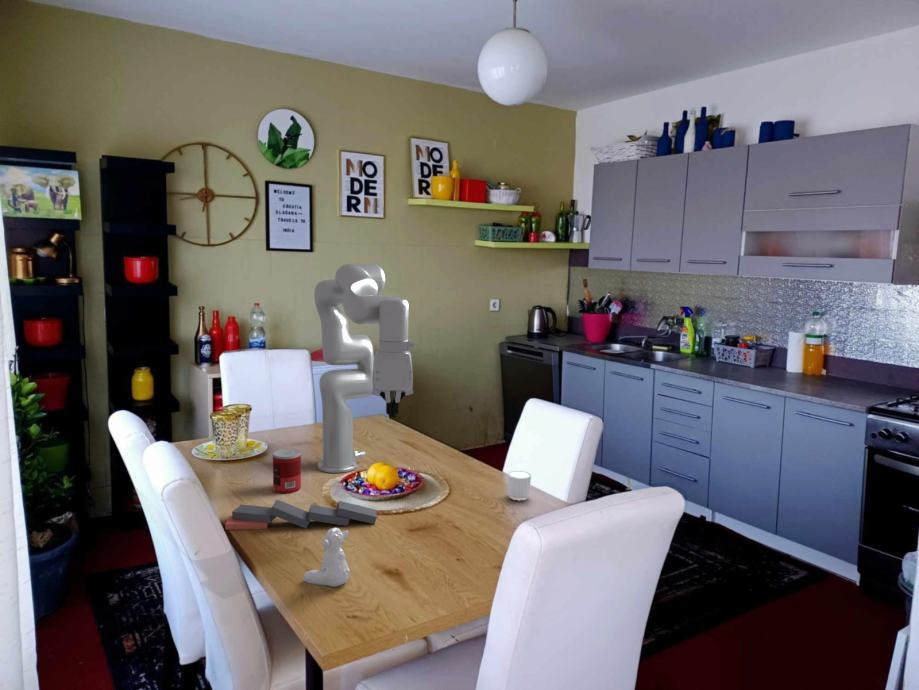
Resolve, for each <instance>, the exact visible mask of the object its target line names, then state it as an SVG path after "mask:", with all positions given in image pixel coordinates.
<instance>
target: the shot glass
mask: <svg viewBox="0 0 919 690" xmlns="http://www.w3.org/2000/svg"><path fill="white" fill-rule="evenodd" d="M531 481H532V474H531V473H530V472H527V471H525V470H524V471H523V470H512V471H508V473H507V490H508V497H509V496H511V497H514V498H527V497H528V498H529V496H528V495H529V494H530V488H531Z"/></svg>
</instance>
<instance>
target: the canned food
mask: <svg viewBox="0 0 919 690" xmlns="http://www.w3.org/2000/svg"><path fill="white" fill-rule="evenodd" d="M272 482H273V483H272V487H273V491H274V492H275V493H276V494H277V493H278V494H284V495H285V494H286V495H287V493H288V494H293V492H294V493H296V492H298V491H299V490H301V488H302V453H301V450H299V449H295V448H284V449H279V450H278V449H277V450H276V451H274V452H273V453H272Z"/></svg>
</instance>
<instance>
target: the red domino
mask: <svg viewBox="0 0 919 690" xmlns="http://www.w3.org/2000/svg"><path fill="white" fill-rule="evenodd" d="M269 524H270V523H264V522H253V521H243V520H233V519H232V515H231V516H230V515H229V516H228V518H227V520H226V522H225V531H227V530H228V531H229V530H231V531H232V530H234V531H235V530H257V529H258V530H259V529H268V526H269Z"/></svg>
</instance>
